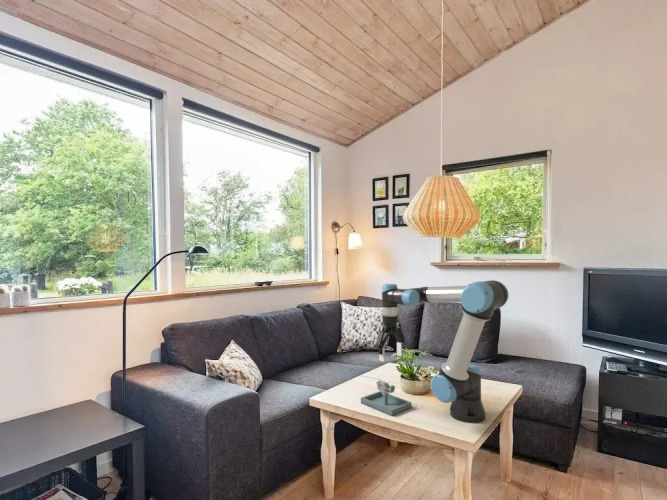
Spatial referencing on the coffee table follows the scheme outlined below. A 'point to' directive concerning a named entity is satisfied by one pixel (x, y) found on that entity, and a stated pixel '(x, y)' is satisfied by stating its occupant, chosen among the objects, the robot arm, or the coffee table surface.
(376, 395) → the parts tray
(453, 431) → the coffee table surface
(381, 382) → the mechanical component
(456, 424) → the coffee table surface
